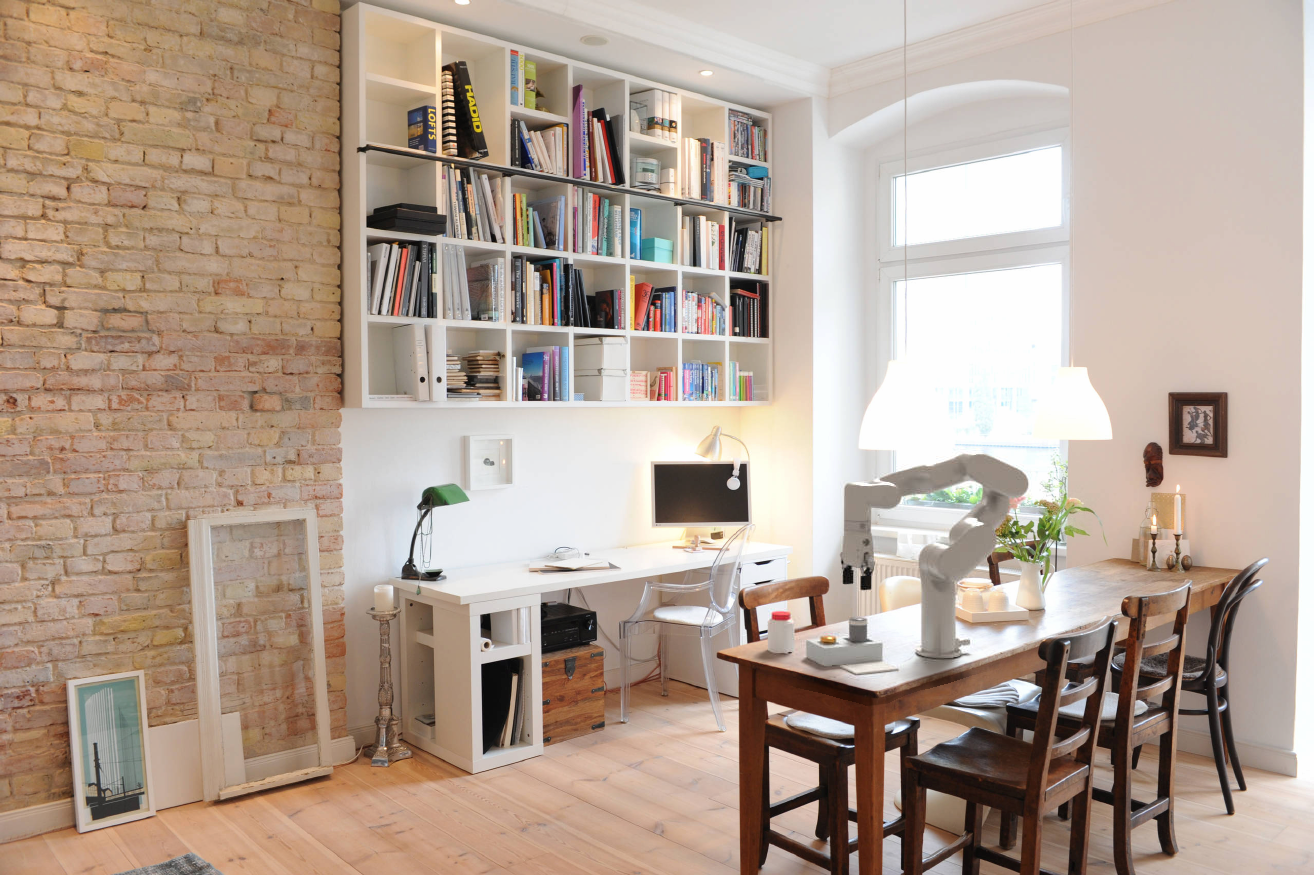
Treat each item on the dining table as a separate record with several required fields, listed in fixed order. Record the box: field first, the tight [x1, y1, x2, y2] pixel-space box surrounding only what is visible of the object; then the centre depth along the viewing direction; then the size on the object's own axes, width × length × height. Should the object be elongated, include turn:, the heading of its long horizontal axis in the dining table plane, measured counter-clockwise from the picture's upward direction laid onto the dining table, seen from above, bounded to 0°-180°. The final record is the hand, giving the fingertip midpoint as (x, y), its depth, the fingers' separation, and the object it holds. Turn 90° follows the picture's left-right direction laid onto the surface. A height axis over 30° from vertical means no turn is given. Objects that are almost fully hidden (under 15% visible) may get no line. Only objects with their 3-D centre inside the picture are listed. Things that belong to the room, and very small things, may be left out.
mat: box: [839, 660, 899, 676], centre depth 275 cm, size 13×8×1 cm, turn 109°
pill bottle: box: [767, 610, 796, 654], centre depth 296 cm, size 8×8×11 cm
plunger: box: [819, 635, 837, 646], centre depth 284 cm, size 4×4×6 cm
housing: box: [805, 635, 883, 667], centre depth 286 cm, size 18×11×5 cm, turn 109°
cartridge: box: [848, 616, 868, 643], centre depth 287 cm, size 5×5×11 cm
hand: (856, 586), depth 287 cm, fingers open, 9 cm apart
